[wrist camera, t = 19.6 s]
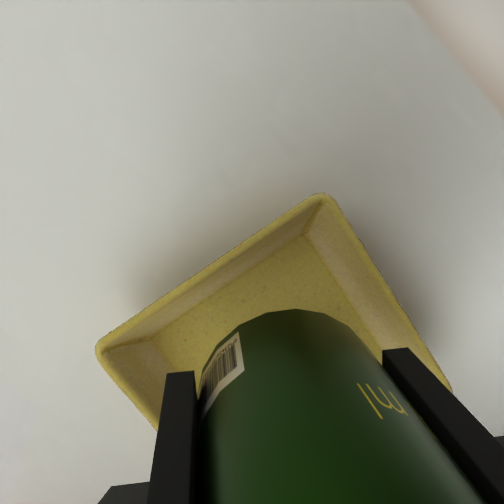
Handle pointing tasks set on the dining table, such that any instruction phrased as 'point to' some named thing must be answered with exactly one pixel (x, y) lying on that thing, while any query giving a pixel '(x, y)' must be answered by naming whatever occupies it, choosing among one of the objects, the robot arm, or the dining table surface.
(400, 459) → the green soda can
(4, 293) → the dining table surface
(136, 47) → the dining table surface
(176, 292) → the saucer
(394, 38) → the dining table surface
